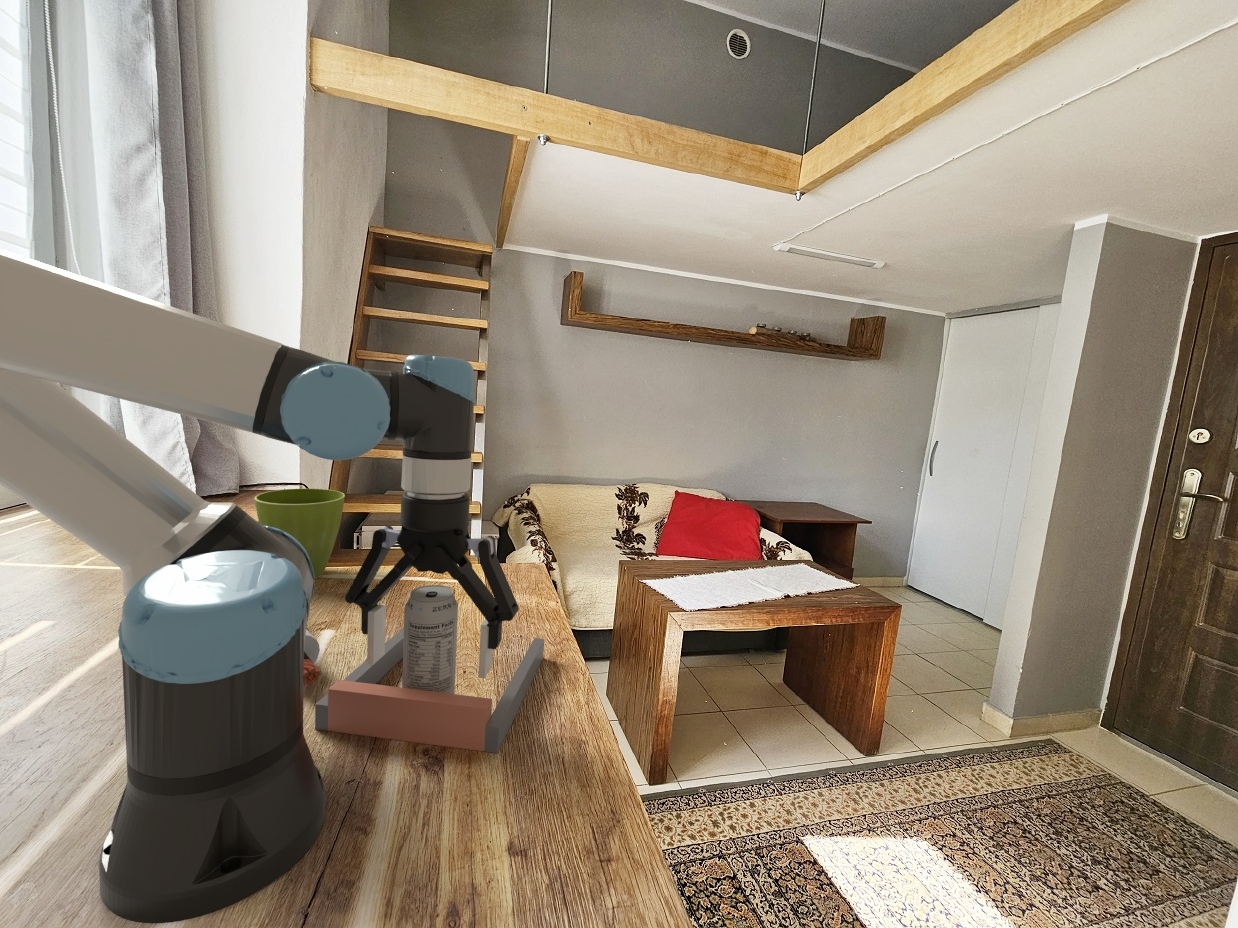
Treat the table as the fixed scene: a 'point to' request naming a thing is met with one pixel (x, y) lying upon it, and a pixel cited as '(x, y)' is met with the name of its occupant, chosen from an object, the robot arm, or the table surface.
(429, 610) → the energy drink can
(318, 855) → the table surface
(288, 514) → the flower pot
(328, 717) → the guide lane
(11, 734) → the table surface
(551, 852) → the table surface
